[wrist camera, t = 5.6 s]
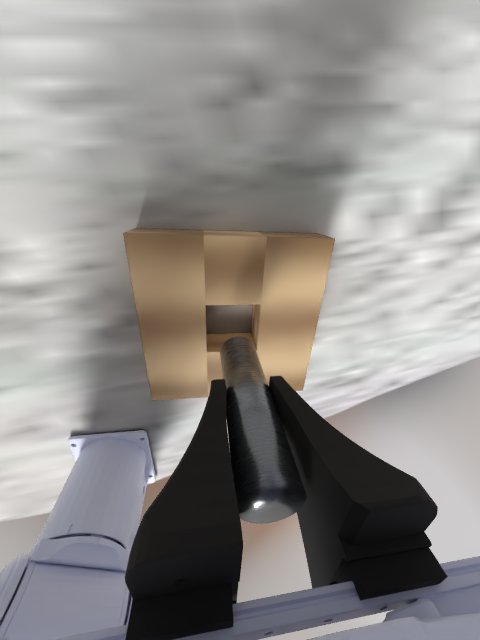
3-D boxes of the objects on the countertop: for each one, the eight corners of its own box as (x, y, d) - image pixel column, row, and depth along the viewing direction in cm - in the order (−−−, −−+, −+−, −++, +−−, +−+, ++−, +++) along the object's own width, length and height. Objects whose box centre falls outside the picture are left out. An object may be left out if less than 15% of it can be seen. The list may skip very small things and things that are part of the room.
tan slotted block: (292, 370, 25) (302, 390, 23) (157, 378, 23) (152, 400, 21) (317, 233, 19) (335, 238, 16) (135, 228, 17) (123, 233, 14)
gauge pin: (251, 367, 17) (294, 520, 9) (217, 364, 16) (230, 525, 8) (258, 338, 16) (315, 481, 8) (223, 334, 15) (243, 484, 7)
